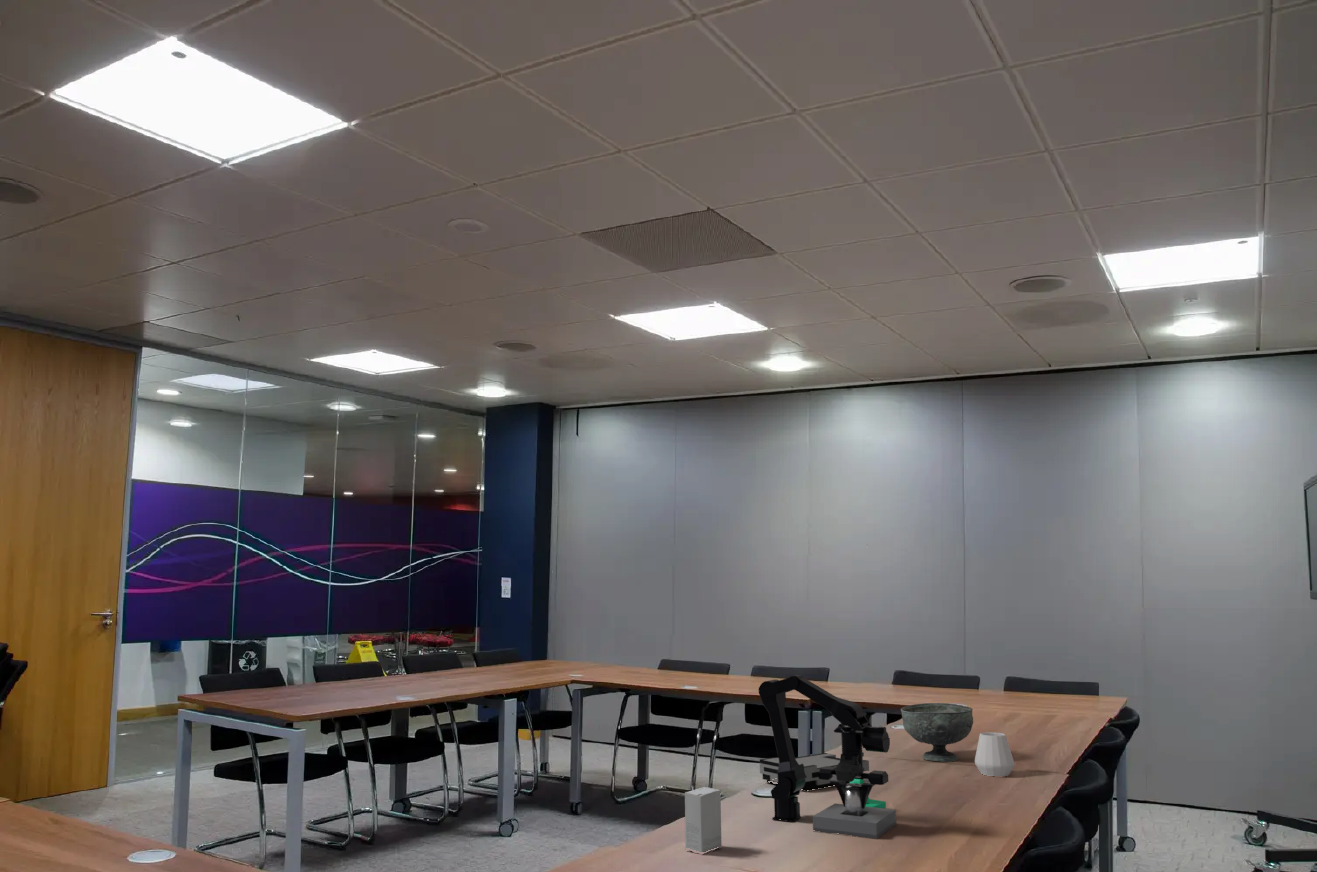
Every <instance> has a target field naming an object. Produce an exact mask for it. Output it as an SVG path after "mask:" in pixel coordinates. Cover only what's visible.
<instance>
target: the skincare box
mask: <svg viewBox="0 0 1317 872" xmlns="http://www.w3.org/2000/svg"><path fill="white" fill-rule="evenodd" d="M721 794H722V793H721V789H716V788H713V787H708V786H703V787H700V788H696V789H694V790H690V791H685V792H684V819H685V820H684V822H685V823H684V824H685V825H684V827H685V828H684V829H685V831H684V832H685V833H684V835H685V836H684V837H685V839H684V841H685V849H686V848H690V849H693V850H696V851H699V852H706V851H708V850H711V849H714V848H717V847H722V846H723V845H722V843H723V842H722V806H721V803H722V802H721V801H722V800H721V799H722V796H721ZM722 848H723V847H722Z"/></svg>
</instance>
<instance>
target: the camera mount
mask: <svg viewBox="0 0 1317 872" xmlns="http://www.w3.org/2000/svg"><path fill="white" fill-rule="evenodd" d="M850 783H857V784H863V783H864V780H861V779H854V780H853V781H852V782H850ZM865 807H874V808H884V809H887V802H886V801H885V800H878V799H871V798H870V797H869V796H868V799H867V802H866V805H865Z"/></svg>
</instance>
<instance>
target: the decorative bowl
mask: <svg viewBox="0 0 1317 872" xmlns="http://www.w3.org/2000/svg"><path fill="white" fill-rule="evenodd" d="M900 711H901V719H902V722H903V725H902V726H903V728H904V730H905V732H906V733H907V734H908V735H910V737H912V738H913V739H914V740H915V741H917V742H919V743H920V744H922V743H923V744H927V745H931V746H932V750H930V751H926V752H923V754H922V758H923V760H924V759H925V761H931V762H932V761H933V762H942V763H943V762H944V763H951V762H952V761H953V762H957V761H958V758H959V757H958V756H957V755H956V754H955V753H953V752H951V751H948V750H947V748H946V747H947V745H951V744H956V743H959V742H961V741H962V740H965V738H967V737H968V736H969V734H970V733H971V731H972V728H973V724H974V717H973V707H969V706H966V705H962V704H956V703H949V702H948V703H947V702H946V703H945V702H926V703H925V702H923V703H918V704H917V703H915V704H910V705H906V706H903V707H901V708H900ZM956 760H957V761H956Z"/></svg>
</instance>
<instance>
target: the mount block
mask: <svg viewBox="0 0 1317 872" xmlns="http://www.w3.org/2000/svg"><path fill="white" fill-rule="evenodd" d="M896 811H897V810H896V809H892V808H874V807H865V808H864V809H863V813H864V816H862V817H861V816H852V815H845V807H844V805H843V803H833V804H831V805H830V806H827V807H826V808H824V809H823V810H821V811H819V812H818V813H816V814H814V815H812V831H813V830H815V831H820V832H819V833H822V832H827V833H826V834H831V833H839V834H847V835H852V836H851V837H856V836H858V838H864V837H865V839H875V840H877V839H879V838H881V837H882V836H883V835H884V834H886V833H887V832H888V831H890V830H891V829H892V828H894V827H896V825H897V814H896ZM893 826H894V827H893ZM839 834H838V835H839ZM882 834H883V835H882ZM847 835H846V836H847ZM881 835H882V836H881Z"/></svg>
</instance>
